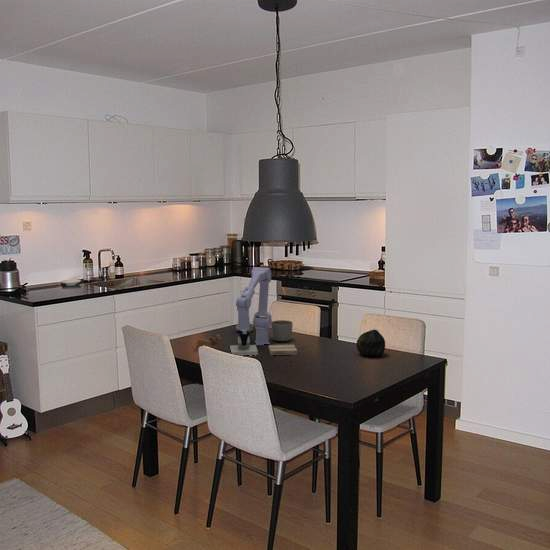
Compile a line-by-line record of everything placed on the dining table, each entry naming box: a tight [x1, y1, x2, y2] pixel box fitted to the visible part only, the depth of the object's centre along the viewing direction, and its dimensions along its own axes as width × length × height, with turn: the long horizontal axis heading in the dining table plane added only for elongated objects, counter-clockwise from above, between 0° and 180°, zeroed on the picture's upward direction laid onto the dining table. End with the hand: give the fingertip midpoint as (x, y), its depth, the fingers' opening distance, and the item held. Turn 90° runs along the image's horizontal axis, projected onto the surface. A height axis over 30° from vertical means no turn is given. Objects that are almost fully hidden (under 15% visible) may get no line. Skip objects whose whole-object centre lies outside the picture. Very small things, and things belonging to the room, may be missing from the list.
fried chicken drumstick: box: [193, 334, 222, 351], centre depth 330 cm, size 15×5×9 cm, turn 97°
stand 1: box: [229, 344, 259, 357], centre depth 326 cm, size 14×14×2 cm
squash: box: [356, 329, 386, 357], centre depth 321 cm, size 14×15×15 cm
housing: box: [237, 335, 251, 348], centre depth 325 cm, size 4×6×5 cm
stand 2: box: [267, 343, 298, 357], centre depth 328 cm, size 14×14×2 cm
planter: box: [270, 319, 293, 342], centre depth 353 cm, size 12×12×11 cm
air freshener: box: [235, 322, 254, 333], centre depth 375 cm, size 11×8×10 cm
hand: (243, 344), depth 326 cm, fingers closed on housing, 4 cm apart
